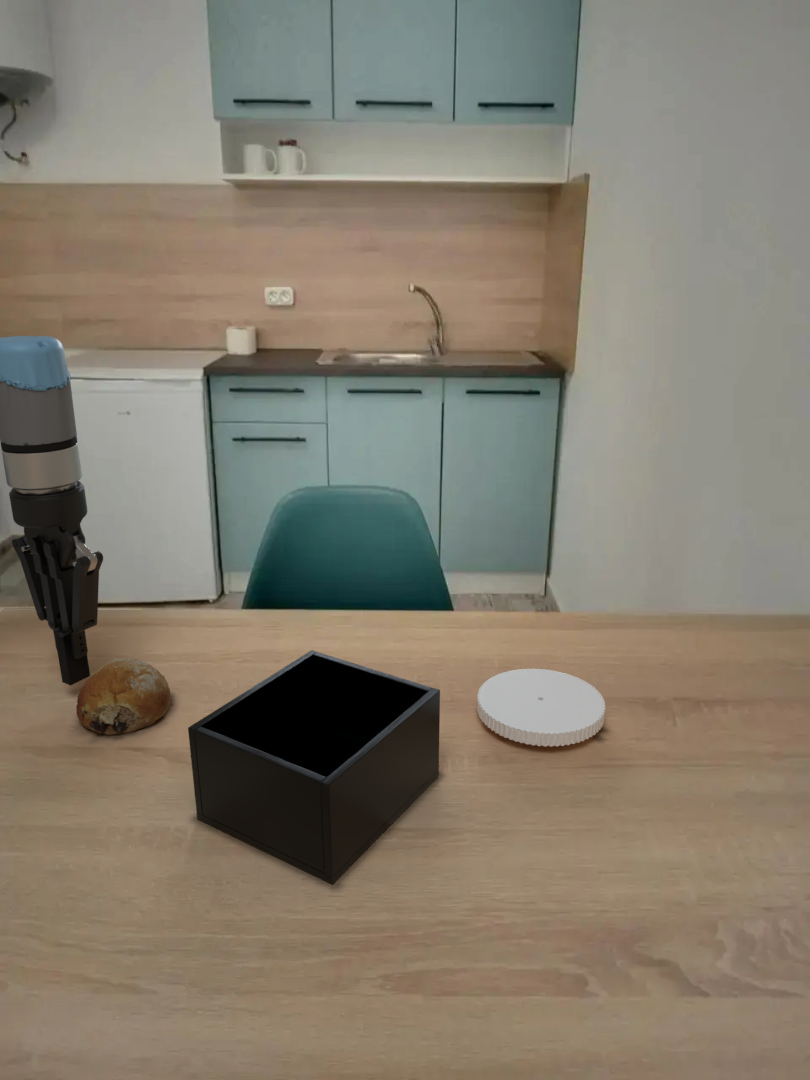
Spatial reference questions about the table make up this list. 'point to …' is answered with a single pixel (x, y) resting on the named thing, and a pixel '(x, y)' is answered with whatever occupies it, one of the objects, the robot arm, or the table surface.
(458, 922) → the table surface
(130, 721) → the bread roll
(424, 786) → the black storage bin
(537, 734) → the plastic lid
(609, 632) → the table surface
